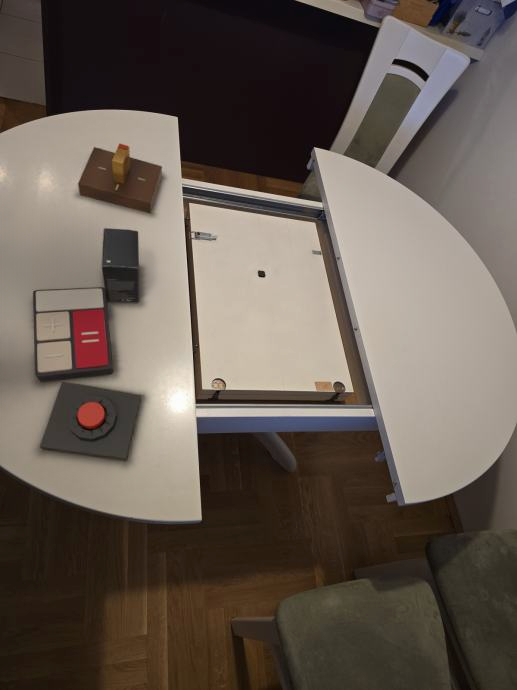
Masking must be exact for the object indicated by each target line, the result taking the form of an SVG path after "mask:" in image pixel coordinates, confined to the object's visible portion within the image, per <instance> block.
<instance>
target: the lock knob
mask: <svg viewBox="0 0 517 690" xmlns="http://www.w3.org/2000/svg"><path fill="white" fill-rule="evenodd" d="M114 153H115V155H114V157H113V159H112V166H113V178H114V181H115V182H119V183H122V184H124V182H125V179H126V177H127V174H128V171H129V169H130V157H131V156H130V155H131V154H130V153H131V151H130V146H129V145H127V144H124V143H118V145H117V147H116V150H115V152H114Z"/></svg>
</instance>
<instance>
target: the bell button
mask: <svg viewBox="0 0 517 690" xmlns="http://www.w3.org/2000/svg"><path fill="white" fill-rule="evenodd" d="M77 416H78V420H79V422H80V424H81V425H82V426H83V427H85V428H87V429H95V428H97V427H99V426H100V425H102V423H103V422H104V420H105V411H104V409H103V407H102V406H101V405H100V404H99V403H96V402H88V403H86V404H84V405H82V406H81V407H80V409H79V411H78V414H77Z"/></svg>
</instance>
